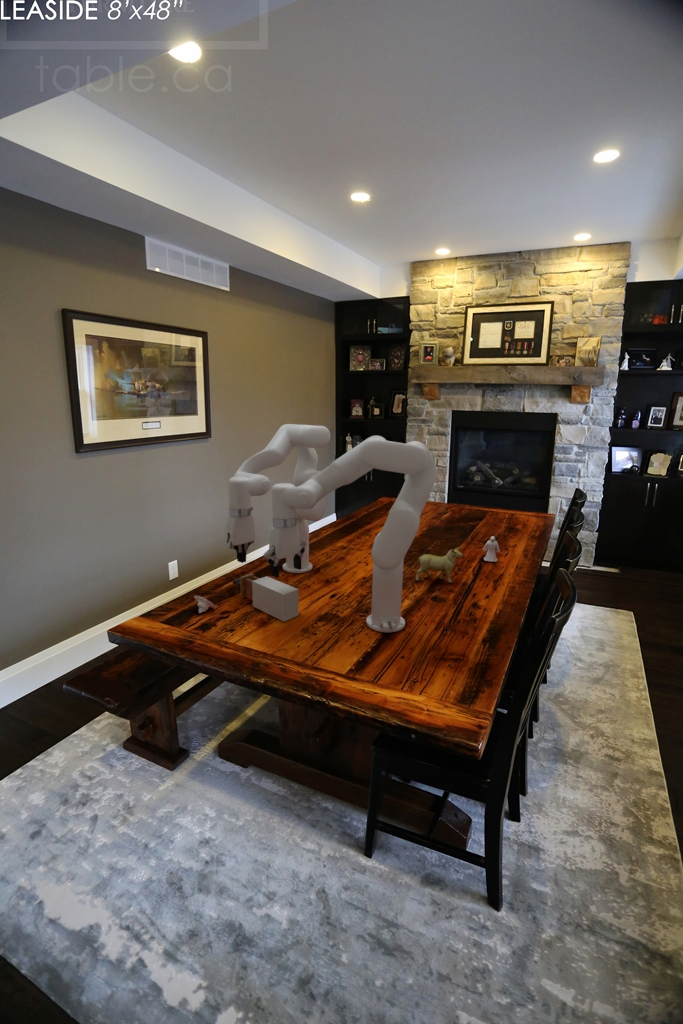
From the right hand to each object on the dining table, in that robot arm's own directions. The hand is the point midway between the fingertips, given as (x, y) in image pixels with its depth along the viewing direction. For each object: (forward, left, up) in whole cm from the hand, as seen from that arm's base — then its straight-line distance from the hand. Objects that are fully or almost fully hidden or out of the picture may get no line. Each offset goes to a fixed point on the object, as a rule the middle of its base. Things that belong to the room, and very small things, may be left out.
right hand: (286, 572), depth 164 cm
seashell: (+5, +28, -15) cm, 32 cm away
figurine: (+52, -90, -15) cm, 105 cm away
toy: (+29, -59, -15) cm, 68 cm away
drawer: (+12, +12, -14) cm, 22 cm away
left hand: (+18, +17, -2) cm, 24 cm away
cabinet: (+4, +4, -15) cm, 16 cm away
